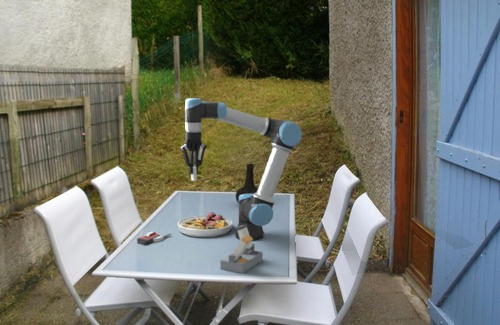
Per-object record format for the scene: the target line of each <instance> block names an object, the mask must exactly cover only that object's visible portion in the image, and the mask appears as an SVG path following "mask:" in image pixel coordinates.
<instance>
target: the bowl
mask: <svg viewBox="0 0 500 325" xmlns="http://www.w3.org/2000/svg"><path fill="white" fill-rule="evenodd" d="M232 228H233V221H232V220H231V219H230V218H227V217H224V216H222V215H221V214H218V215H217V214H216V213H215V212H213V211H212V212H211V211H210V212H209V213H208V214H207V215H195V216H189V217H185V218H182V219H180V220H179V221H178V222H177V229H178V230H179V231H180V232H181V233H182V234H183V235H186V236H189V237H193V238H194V237H195V238H214V237H220V236H223V235H226V234H227V233H229V232H230V231H231V230H232Z"/></svg>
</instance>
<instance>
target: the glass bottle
mask: <svg viewBox="0 0 500 325" xmlns="http://www.w3.org/2000/svg"><path fill="white" fill-rule="evenodd" d="M245 167H246V170H245V171H246V174H245V180H244V184H243V186H241V187H240V188H238V189H237V191H236V192H235V200H236V203H238V204H239V202H238V201H239V196H240V195H242V194H254V193H256V192H257V190H258V187H257V186H255V180H254V179H255V178H254V168H255V166H254V163H246V166H245Z"/></svg>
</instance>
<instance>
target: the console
mask: <svg viewBox="0 0 500 325" xmlns="http://www.w3.org/2000/svg"><path fill="white" fill-rule="evenodd" d="M252 245H253V246H252V247H253V249H252V250H250V251H248V248H246V249H245V250H244V252H243V253H242V255H241V256H240V257H238V258H236V259H235V256H234V255H232V254H233V252H232V253H230V254H228V255H227V256H225V257H223V258H222V259H220V270H224V271H228V272H229V271H230V272H234V273H239V274H244V273H245V272H247V271H248V270H249V269H251V268H253V267H255V266H256V265H257V264H259V263H261V262H262V261H263V251H259V250H255V243H252Z"/></svg>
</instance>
